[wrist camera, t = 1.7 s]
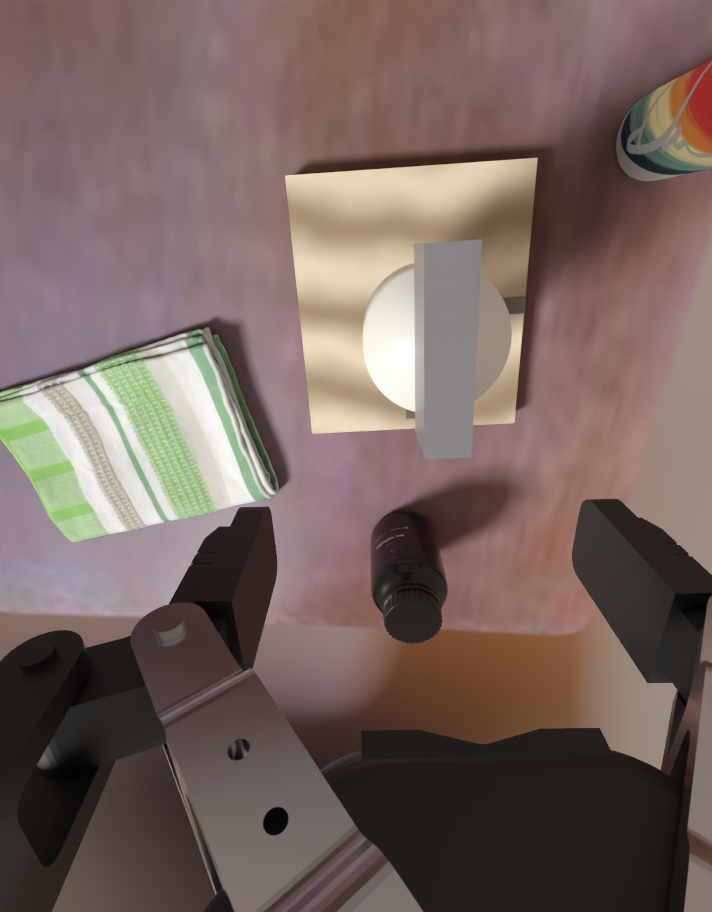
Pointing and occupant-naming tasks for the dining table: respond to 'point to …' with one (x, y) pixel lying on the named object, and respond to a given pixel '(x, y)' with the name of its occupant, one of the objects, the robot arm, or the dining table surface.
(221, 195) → the dining table surface
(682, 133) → the lotion bottle
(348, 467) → the dining table surface
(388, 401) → the post board
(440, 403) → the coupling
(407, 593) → the supplement bottle
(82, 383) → the dish towel
